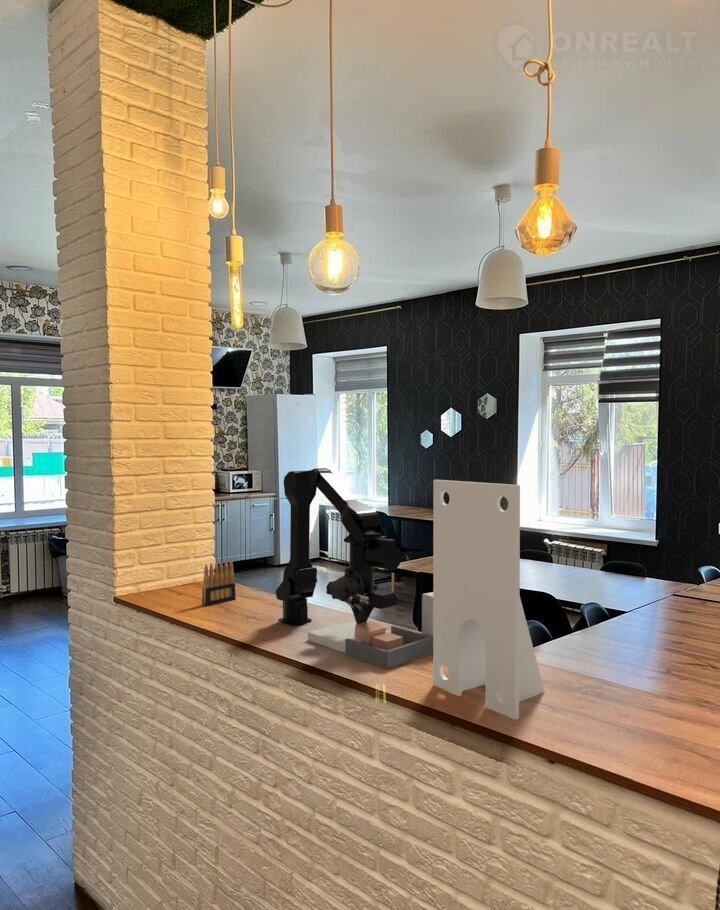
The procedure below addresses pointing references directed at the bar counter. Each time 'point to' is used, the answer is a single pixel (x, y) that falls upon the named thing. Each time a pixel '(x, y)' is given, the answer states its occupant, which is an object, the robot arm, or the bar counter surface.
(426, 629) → the skincare box
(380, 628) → the tile rear
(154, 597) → the bar counter surface
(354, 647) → the tray
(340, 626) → the plate
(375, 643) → the tile front
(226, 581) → the ammunition clip
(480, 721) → the bar counter surface
